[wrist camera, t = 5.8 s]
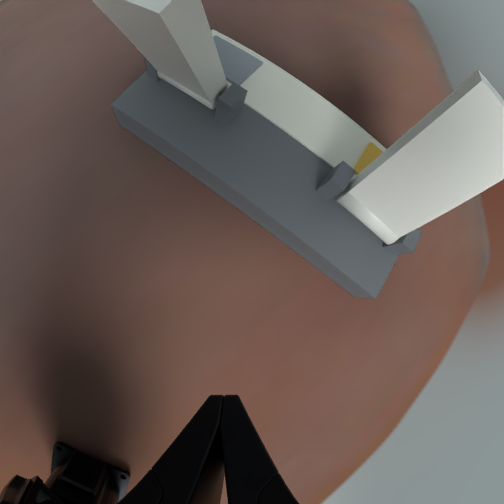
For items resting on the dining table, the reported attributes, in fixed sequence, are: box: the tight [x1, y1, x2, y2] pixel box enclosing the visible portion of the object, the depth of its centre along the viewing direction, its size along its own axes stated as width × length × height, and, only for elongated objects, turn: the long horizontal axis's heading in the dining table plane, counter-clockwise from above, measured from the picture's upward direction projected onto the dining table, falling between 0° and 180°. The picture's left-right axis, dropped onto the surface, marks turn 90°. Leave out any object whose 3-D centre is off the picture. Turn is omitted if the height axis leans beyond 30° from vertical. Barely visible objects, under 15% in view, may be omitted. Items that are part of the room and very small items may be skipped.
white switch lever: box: [336, 70, 504, 244], centre depth 14 cm, size 2×4×12 cm, turn 54°
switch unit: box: [111, 28, 422, 299], centre depth 19 cm, size 10×22×5 cm, turn 55°
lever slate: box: [92, 0, 230, 109], centre depth 12 cm, size 2×4×12 cm, turn 54°
